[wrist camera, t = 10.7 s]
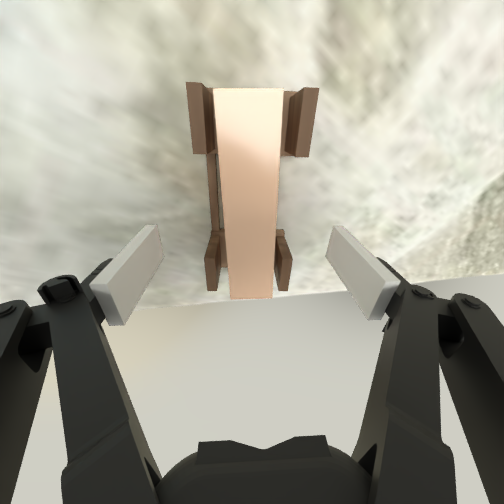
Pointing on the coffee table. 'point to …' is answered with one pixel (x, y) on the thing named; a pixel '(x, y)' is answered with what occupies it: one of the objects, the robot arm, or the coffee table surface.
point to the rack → (205, 142)
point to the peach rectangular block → (249, 184)
